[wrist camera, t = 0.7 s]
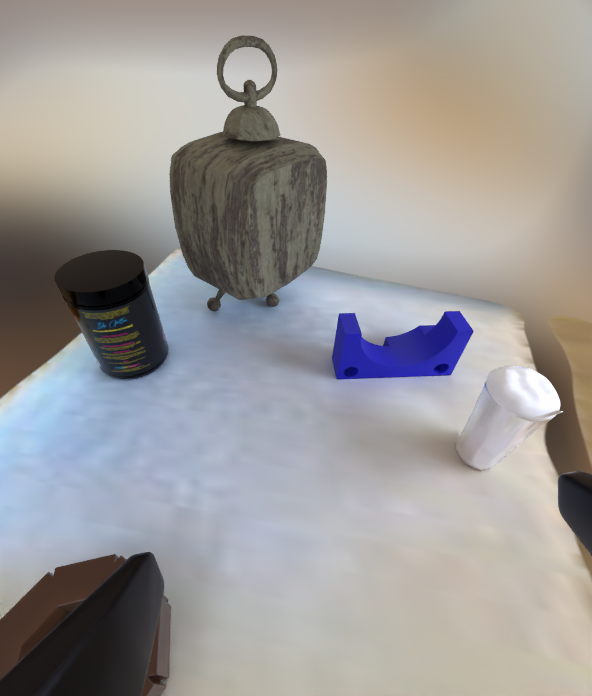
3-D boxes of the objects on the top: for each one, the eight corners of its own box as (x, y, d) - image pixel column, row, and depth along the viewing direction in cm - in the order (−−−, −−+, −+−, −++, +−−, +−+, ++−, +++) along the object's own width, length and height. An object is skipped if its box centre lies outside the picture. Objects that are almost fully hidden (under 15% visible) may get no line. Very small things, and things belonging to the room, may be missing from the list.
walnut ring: (57, 855, 14) (26, 876, 12) (-43, 699, 17) (-80, 698, 16) (202, 630, 20) (194, 622, 18) (106, 542, 23) (91, 528, 21)
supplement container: (181, 363, 35) (156, 275, 28) (112, 394, 32) (64, 302, 25) (156, 329, 39) (128, 243, 32) (92, 353, 36) (46, 263, 28)
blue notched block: (434, 345, 39) (453, 302, 34) (450, 375, 35) (473, 331, 31) (329, 348, 38) (336, 304, 33) (336, 379, 34) (345, 334, 30)
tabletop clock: (270, 266, 50) (267, 35, 33) (321, 288, 46) (348, 40, 29) (192, 311, 41) (134, 30, 24) (247, 344, 37) (224, 37, 20)
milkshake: (456, 484, 27) (518, 407, 20) (442, 426, 31) (490, 345, 24) (515, 491, 26) (599, 415, 20) (494, 432, 30) (557, 352, 23)
